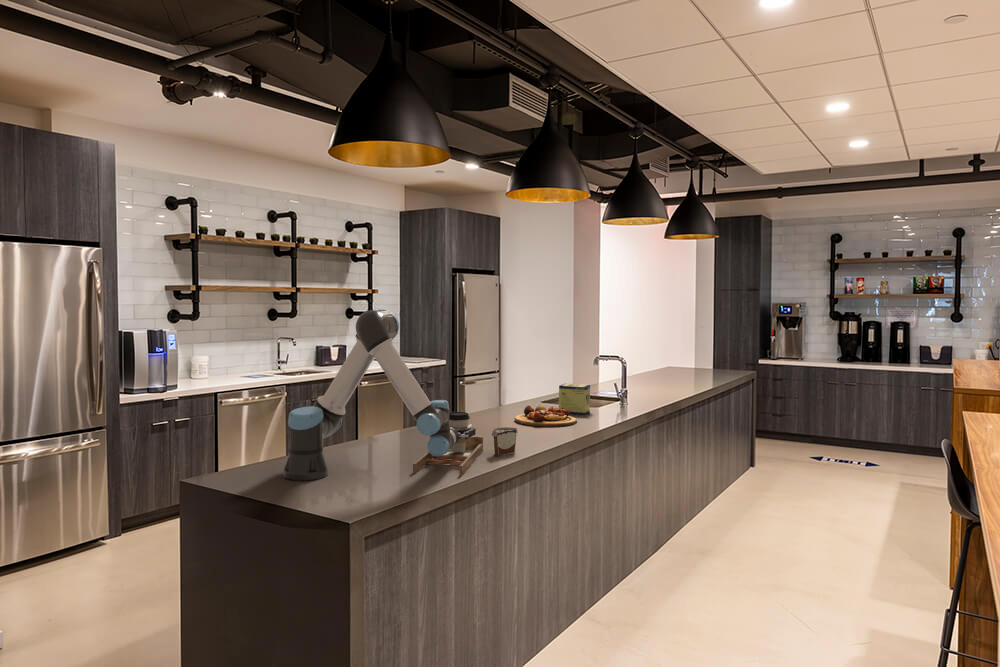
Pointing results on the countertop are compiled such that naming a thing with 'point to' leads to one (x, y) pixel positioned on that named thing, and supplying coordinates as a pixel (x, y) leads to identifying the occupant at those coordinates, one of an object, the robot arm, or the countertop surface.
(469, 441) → the wooden frame with crossbars
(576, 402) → the protein box
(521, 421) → the wooden plate with food
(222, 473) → the countertop surface
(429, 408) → the robot arm
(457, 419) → the coffee cup
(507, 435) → the food container
